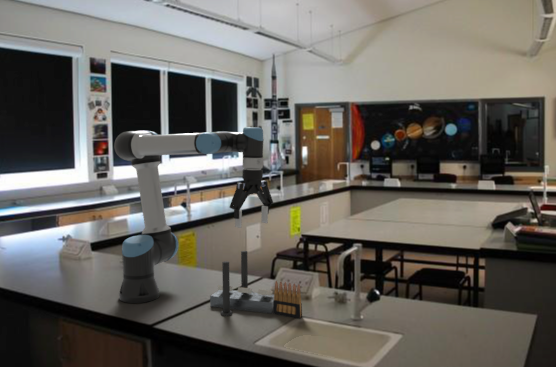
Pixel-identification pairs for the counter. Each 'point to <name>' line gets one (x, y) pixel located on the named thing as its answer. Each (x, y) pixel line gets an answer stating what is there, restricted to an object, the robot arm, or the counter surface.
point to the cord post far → (244, 269)
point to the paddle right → (265, 292)
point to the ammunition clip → (287, 301)
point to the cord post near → (226, 290)
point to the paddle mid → (244, 290)
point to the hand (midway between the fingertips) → (251, 225)
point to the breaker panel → (244, 301)
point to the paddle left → (220, 287)
